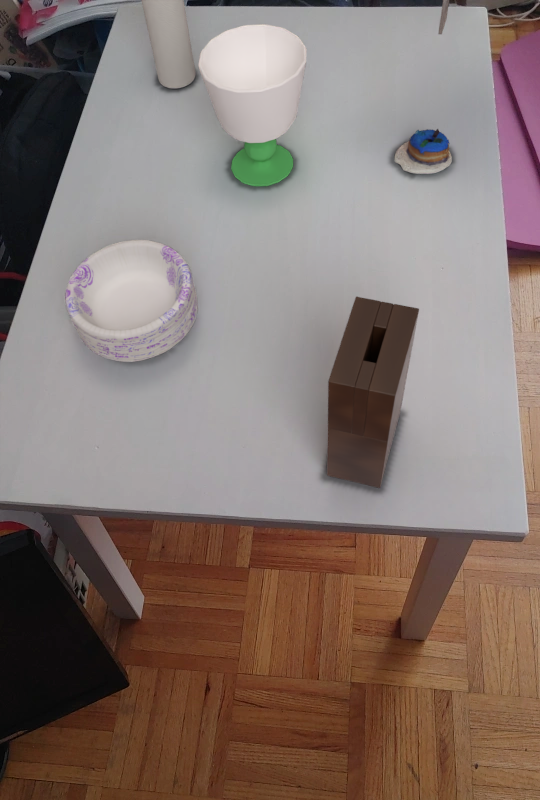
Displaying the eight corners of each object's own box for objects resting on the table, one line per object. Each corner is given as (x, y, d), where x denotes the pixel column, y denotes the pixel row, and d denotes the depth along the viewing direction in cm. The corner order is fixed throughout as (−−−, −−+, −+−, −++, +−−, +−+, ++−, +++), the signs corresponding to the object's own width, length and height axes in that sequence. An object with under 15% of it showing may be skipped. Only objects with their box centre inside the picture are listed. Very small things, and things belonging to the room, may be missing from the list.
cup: (203, 192, 99) (184, 86, 85) (229, 129, 105) (214, 19, 91) (298, 203, 97) (293, 96, 83) (318, 138, 103) (317, 27, 89)
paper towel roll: (187, 92, 110) (159, -64, 91) (152, 86, 111) (117, -68, 92) (204, 64, 113) (180, -92, 94) (170, 59, 114) (139, -97, 95)
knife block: (326, 475, 77) (328, 381, 61) (349, 402, 82) (355, 296, 66) (380, 488, 76) (395, 396, 60) (400, 413, 80) (419, 308, 64)
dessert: (464, 145, 99) (455, 128, 93) (443, 191, 100) (433, 177, 95) (414, 130, 102) (403, 113, 96) (394, 175, 103) (382, 160, 98)
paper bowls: (71, 305, 91) (50, 260, 84) (181, 268, 93) (170, 222, 86) (99, 394, 84) (79, 353, 77) (218, 353, 86) (209, 310, 79)
